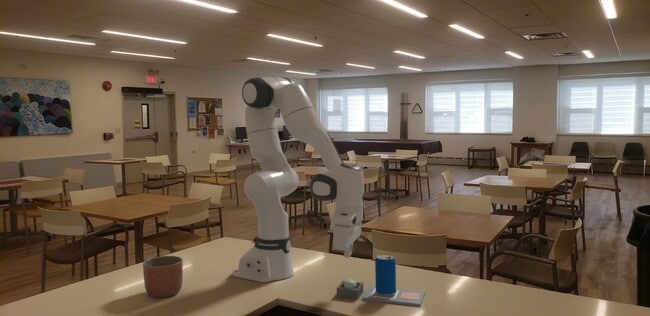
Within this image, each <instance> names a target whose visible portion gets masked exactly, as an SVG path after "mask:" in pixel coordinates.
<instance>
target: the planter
mask: <svg viewBox="0 0 650 316" xmlns="http://www.w3.org/2000/svg"><path fill="white" fill-rule="evenodd" d="M183 264H184V263H183V258H182V257H181V256H177V255H161V256H160V255H159V256H155V257H151V258H148V259H146V260H145V261H143V262H142V270H143V282H144V288H145V292H146V293H147V295H148V296H150V297H153V298H157V299H159V298H162V297H163V298H168V297H172V296H175V295H177V294H178V293H179V292H180V291H181V289H182V286H183V277H184V275H183V272H184V271H183V270H184V269H183V267H184V266H183Z"/></svg>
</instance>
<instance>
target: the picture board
mask: <svg viewBox="0 0 650 316" xmlns="http://www.w3.org/2000/svg"><path fill="white" fill-rule="evenodd" d="M425 295H426V291H424V290H417V289H407V288H397V287H396V292H395V293H394V294H393V295H391V296H382V295H379V294H378V293H377V292H376V285H370V286H369V287H368V289H367V290H366V292H365V293H364V295H363V296H362V301H368V302H369V301H370V302H379V303H387V304H394V305H395V304H396V305H405V306H411V307H412V306H413V307H421V306H422V304H423V300H424V297H425Z"/></svg>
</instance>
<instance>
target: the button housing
mask: <svg viewBox="0 0 650 316" xmlns="http://www.w3.org/2000/svg"><path fill="white" fill-rule="evenodd" d="M363 293H364V282H359V281H356V289H351V288H344V280H342V281H341V282H340V284H338V285H337V287H336V297H337V298H342V299H351V300H352V299H353V300H359V298H360V297H361V296H362V294H363Z"/></svg>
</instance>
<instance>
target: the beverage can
mask: <svg viewBox="0 0 650 316" xmlns="http://www.w3.org/2000/svg"><path fill="white" fill-rule="evenodd" d="M374 263H375V265H374V267H375V268H374V270H375V271H374V273H375V275H374V276H375V277H374V278H375V286H376V292H377V293H378V294H379V295H382V296H391V295H393V294H394V293H395V292H396V288H397V273H396V272H397V267H396V265H397V264H396V263H397V261H396V258H395V256H394V255H393V254H389V253H381V254H377V255H376V258H375V260H374Z"/></svg>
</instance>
